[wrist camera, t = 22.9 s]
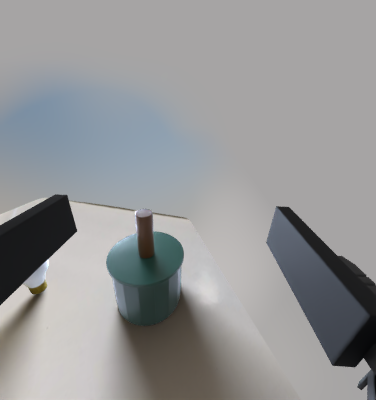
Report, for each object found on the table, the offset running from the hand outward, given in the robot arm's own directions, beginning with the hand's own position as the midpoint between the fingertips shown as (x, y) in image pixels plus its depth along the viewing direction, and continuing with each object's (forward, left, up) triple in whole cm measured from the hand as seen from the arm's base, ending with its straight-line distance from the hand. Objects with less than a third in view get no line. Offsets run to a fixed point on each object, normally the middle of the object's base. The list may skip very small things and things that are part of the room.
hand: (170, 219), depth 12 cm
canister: (+9, -14, -28) cm, 33 cm away
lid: (+9, -14, -18) cm, 24 cm away
